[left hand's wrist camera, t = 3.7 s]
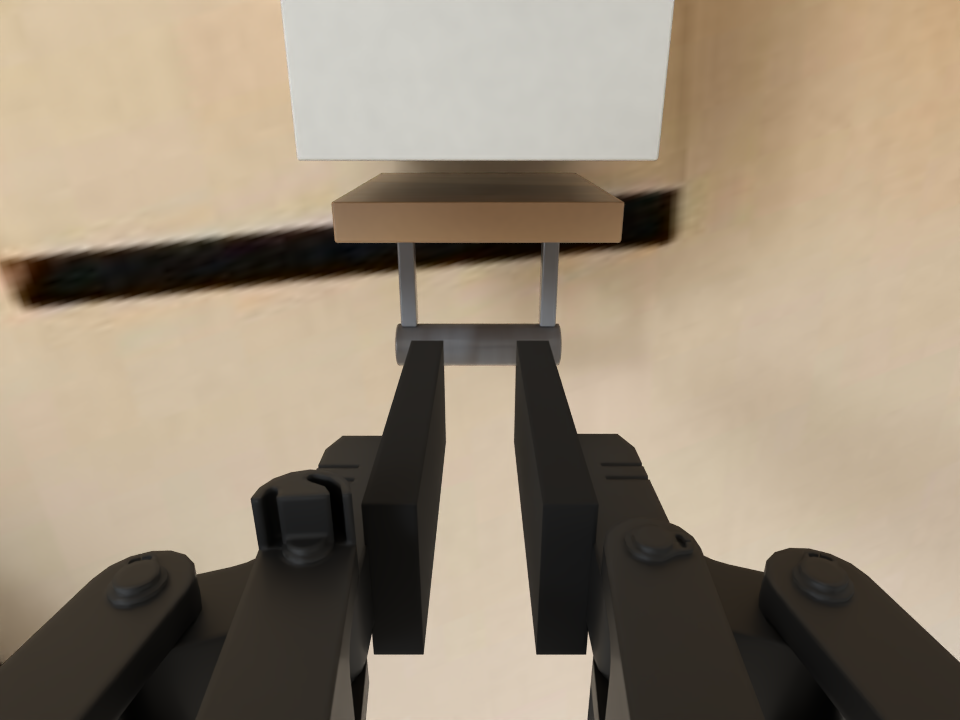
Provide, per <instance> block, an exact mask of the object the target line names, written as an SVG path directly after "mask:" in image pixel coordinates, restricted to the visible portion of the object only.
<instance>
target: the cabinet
mask: <svg viewBox="0 0 960 720" xmlns="http://www.w3.org/2000/svg"><path fill="white" fill-rule="evenodd" d="M674 1H675V0H281V10H282V19H283V29H284V38H285V48H286V57H287V66H288V76H289V85H290V95H291V104H292V114H293V123H294V132H295V142H296V151H297V158H298V160H300V161H655V160H657V159H658V156H659V146H660V137H661V127H662V117H663V107H664V98H665V88H666V78H667V69H668V59H669V49H670V40H671V30H672V20H673V11H674Z"/></svg>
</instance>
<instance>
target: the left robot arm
mask: <svg viewBox="0 0 960 720" xmlns="http://www.w3.org/2000/svg"><path fill="white" fill-rule="evenodd" d="M445 445H446V429H445V386H444V344H443V341H411V343H410V347H409V350H408V353H407V356H406V360H405V363H404V366H403V369H402V373H401V376H400V379H399V383H398V386H397V389H396V392H395V396H394V399H393V402H392V405H391V409H390V412H389V415H388V418H387V422H386V425H385V428H384V431H383V435H382V436H342V437H341V438H339V439H338V440H337V441H336V442H334V443H333V444H332V445H331V446H329V447H328V448H327V449H326V450H325V452H324V454H323V456H322V459H321V461H320V463H319V465H318V468H317V469H316V470H304V471H297V472H291V473H288V474H285V475H282V476H280V477H277V478H274V479H272V480H271V481H269V482H268V483H266V484H264V485H263V486H261V487H260V488H259V489H258V490H257V491H256V493H255V494H254V495H253V496H252V498H251V503H252V509H253V516H254V522H255V528H256V534H257V540H258V546H259V551H258V554H257V556H256V559H254V560H251V561H249V562H247V563H244V564H240V565H237V566H233V567H229V568H225V569H220V570H216V571H211V572H207V573H202V574H197V575H196V570H195V565H194V563H193V562H192V561H191V560H190V559H189V558H188V557H187V556H186V555H184V554H181V553H177V552H174V551H151V552H147V553H143V554H138V555H135V556H131V557H128V558H126V559H124V560H122V561H120V562H118V563H115V564H113V565H111V566H109V567H108V568H107V569H105V570H104V571H103V572H101V573H100V574H99V575H97V576H96V577H94V578H93V579H92V580H91V581H90V582H89V583H88V584H87V585H86V586H85V587H83V588H82V589H81V590H80V591H79V592H78V593H77V594H76V595H75V596H74V597H73V598H72V599H71V600H70V601H69V602H68V603H67V604H66V605H65V606H63V607H62V608H61V609H60V610H59V611H58V612H57V613H56V614H55V615H54V616H53V617H52V618H51V619H50V620H49V621H48V622H47V623H46V624H45V625H43V626H42V627H41V628H40V629H39V630H38V631H37V632H36V633H35V634H34V635H33V636H32V637H31V638H30V639H29V640H28V641H27V642H26V643H24V644H23V645H22V646H21V647H20V648H19V649H18V650H17V651H16V652H15V653H14V654H13V655H12V656H11V657H10V658H9V659H8V660H7V661H6V662H4V663H3V664H2V665H1V666H0V720H366V711H367V700H368V689H369V676H368V665H367V654H368V649H369V645H370V640H371V635H372V637H373V649H374V654H424V645H425V635H426V626H427V616H428V607H429V597H430V588H431V578H432V569H433V559H434V550H435V540H436V531H437V521H438V512H439V502H440V493H441V483H442V473H443V464H444V454H445ZM514 445H515V455H516V464H517V474H518V483H519V493H520V502H521V512H522V521H523V531H524V540H525V550H526V559H527V569H528V578H529V588H530V597H531V607H532V616H533V626H534V635H535V645H536V655H586V649H587V637H588V632H589V637H590V642H591V646H592V651H593V665H592V676H591V687H590V698H589V709H588V720H960V662H959V661H958V660H957V659H956V658H955V657H953V656H952V655H951V654H950V653H949V652H948V651H947V650H946V649H945V648H944V647H943V646H942V645H941V644H940V643H939V642H938V641H937V640H935V639H934V638H933V637H932V636H931V635H930V634H929V633H928V632H927V631H926V630H925V629H924V628H923V627H922V626H921V625H920V624H918V623H917V622H916V621H915V620H914V619H913V618H912V617H911V616H910V615H909V614H908V613H907V612H906V611H905V610H904V609H903V608H901V607H900V606H899V605H898V604H897V603H896V602H895V601H894V600H893V599H892V598H891V597H890V596H889V595H888V594H887V593H886V592H885V591H883V590H882V589H881V588H880V587H879V586H878V585H877V584H876V583H875V582H874V581H873V580H872V579H871V578H870V577H869V576H867V575H866V574H865V573H863V572H862V571H860V570H859V569H858V568H856V567H855V566H854V565H852V564H851V563H849V562H847V561H844V560H842V559H840V558H838V557H836V556H834V555H831V554H829V553H825V552H821V551H817V550H813V549H806V548H788V549H785V550H781V551H778V552H775V553H774V554H773V555H772V556H771V557H770V558H769V559H768V560H767V561H766V565H765V570H764V572H761V571H756V570H751V569H747V568H742V567H738V566H733V565H729V564H725V563H722V562H718V561H715V560H712V559H710V558H708V557H705V556H704V555H703V553H702V550H701V548H700V546H699V545H698V544H697V542H696V541H695V539H694V538H693V536H691V535H690V534H688V533H687V532H686V531H684V530H683V529H682V528H680V527H679V526H676V525H674V524H671V523H669V520H668V518H667V516H666V514H665V512H664V510H663V508H662V505H661V503H660V501H659V499H658V497H657V495H656V493H655V490H654V488H653V486H652V484H651V482H650V480H648V475H647V473H646V471H645V469H644V467H643V466H642V463H641V460H640V458H639V456H638V454H637V452H636V450H635V448H634V447H633V446H632V445H631V444H629V443H628V442H627V441H626V440H624V439H623V438H622V437H621V436H619V435H618V434H577V432H576V428H575V425H574V422H573V418H572V415H571V412H570V409H569V405H568V402H567V399H566V396H565V392H564V389H563V386H562V383H561V379H560V376H559V373H558V369H557V366H556V363H555V360H554V356H553V353H552V350H551V347H550V343H549V341H517V344H516V386H515V428H514Z"/></svg>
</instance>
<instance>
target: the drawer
mask: <svg viewBox="0 0 960 720" xmlns="http://www.w3.org/2000/svg"><path fill="white" fill-rule="evenodd" d="M623 212H624V202H622V201H621V200H619V199H618V198H616V197H614V196H613V195H611V194H609V193H608V192H606V191H604V190H603V189H601V188H599V187H598V186H596V185H594V184H593V183H591V182H589V181H588V180H586V179H584V178H583V177H581V176H579V175H578V174H576V173H381V174H379V175H378V176H376V177H374V178H373V179H371V180H369V181H367V182H366V183H364V184H362V185H361V186H359V187H357V188H356V189H354V190H352V191H350V192H349V193H347V194H345V195H344V196H342V197H340V198H339V199H337V200H335V201H333V202H332V214H333V225H334V236H335V242H337V243H397V249H398V269H399V288H400V308H401V324H398V325H397V329H396V338H395V350H396V360H397V364H398V365H400V366H404V363H405V360H406V356H407V353H408V350H409V347H410V343H411V341H443V344H444V366H516V344H517V341H549V343H550V347H551V350H552V353H553V356H554V360H555V363H556V366H557V365H559V363H560V359H561V330H560V326H559V324H555V323H556V302H557V282H558V261H559V243H619V242H620V241H621V235H622V224H623ZM415 243H542V246H541V273H540V300H539V324H417V323H418V305H417V280H416V255H415Z"/></svg>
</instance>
